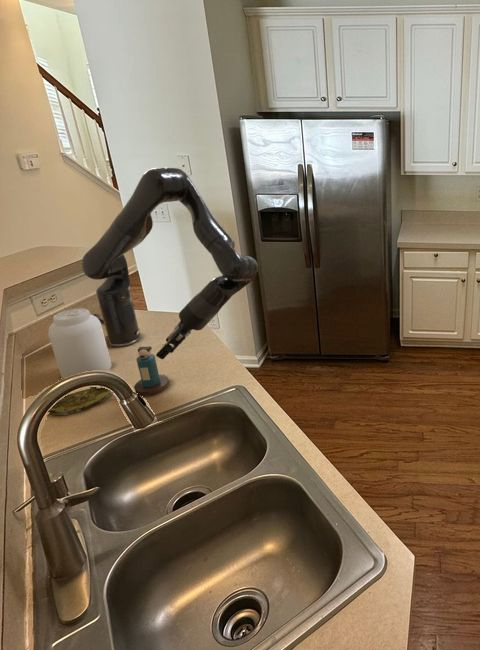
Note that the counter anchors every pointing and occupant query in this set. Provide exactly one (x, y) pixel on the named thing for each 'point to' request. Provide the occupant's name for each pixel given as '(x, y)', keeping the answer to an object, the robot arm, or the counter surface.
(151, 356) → the teal pump bottle
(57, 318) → the white plastic jar
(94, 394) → the mottled olive oval disc
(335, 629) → the counter surface
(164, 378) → the stand
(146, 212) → the robot arm
